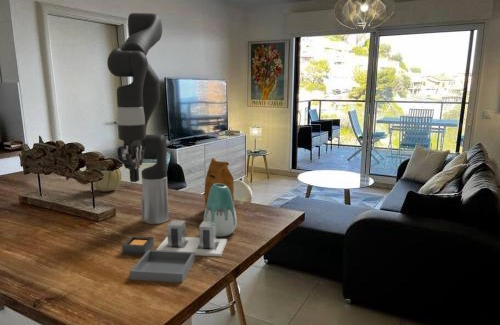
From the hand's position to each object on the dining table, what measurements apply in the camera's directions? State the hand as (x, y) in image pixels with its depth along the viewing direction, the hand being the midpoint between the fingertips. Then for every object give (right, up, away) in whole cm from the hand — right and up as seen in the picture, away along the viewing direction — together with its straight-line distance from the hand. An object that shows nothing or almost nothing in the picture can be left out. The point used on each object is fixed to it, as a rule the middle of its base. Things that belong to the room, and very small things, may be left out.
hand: (134, 181), depth 110 cm
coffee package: (+21, -15, +44) cm, 51 cm away
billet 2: (+21, -22, +6) cm, 31 cm away
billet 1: (+11, -22, +7) cm, 26 cm away
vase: (+24, -20, +21) cm, 37 cm away
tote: (+11, -25, -7) cm, 28 cm away
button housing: (0, -23, +5) cm, 23 cm away
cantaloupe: (-37, -9, +74) cm, 83 cm away
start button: (0, -22, +4) cm, 22 cm away
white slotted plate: (+16, -22, +7) cm, 28 cm away
